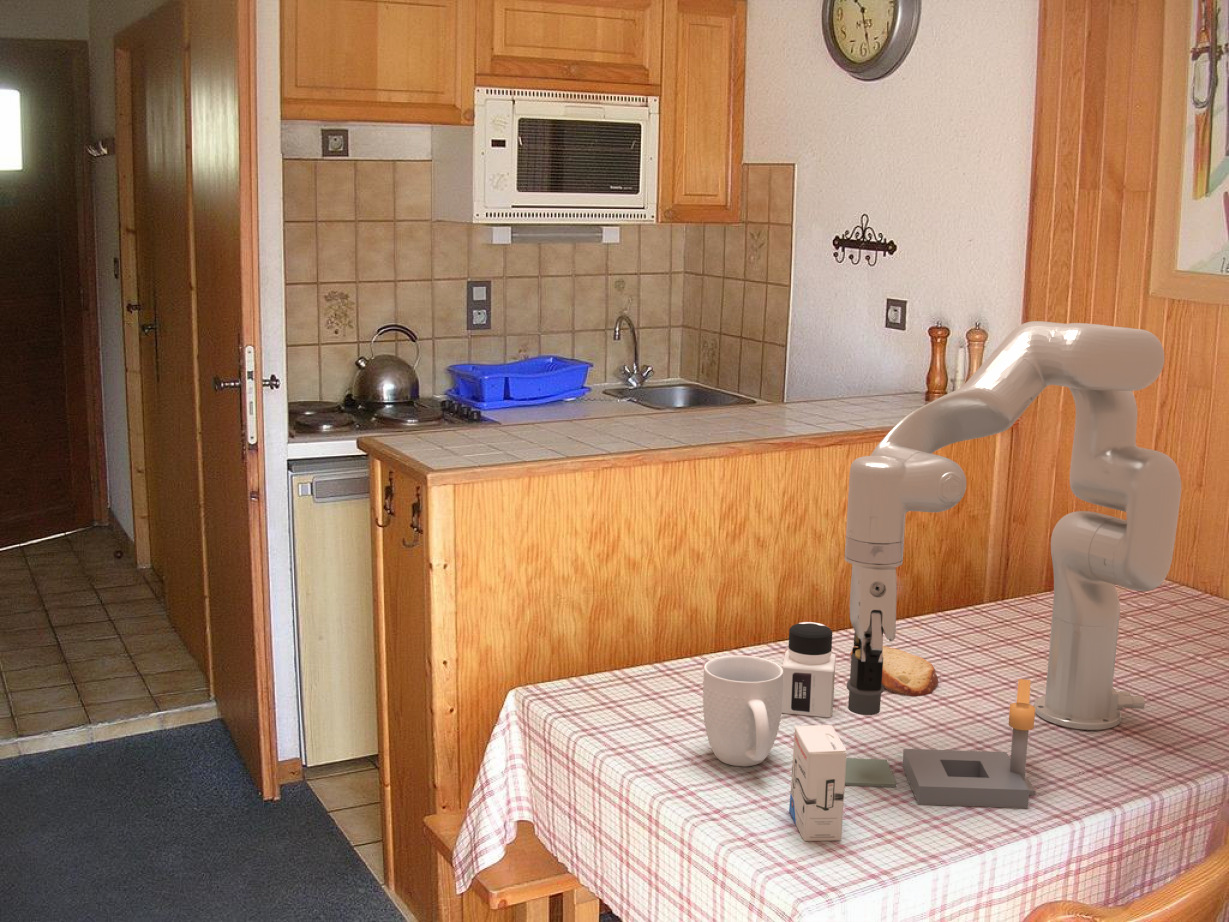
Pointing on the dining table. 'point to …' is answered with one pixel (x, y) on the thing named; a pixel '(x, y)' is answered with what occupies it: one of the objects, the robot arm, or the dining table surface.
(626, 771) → the dining table surface
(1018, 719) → the clip
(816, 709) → the container
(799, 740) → the ink box
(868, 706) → the plug
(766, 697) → the mug
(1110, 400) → the robot arm
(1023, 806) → the socket
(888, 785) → the pad
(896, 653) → the bread slice
